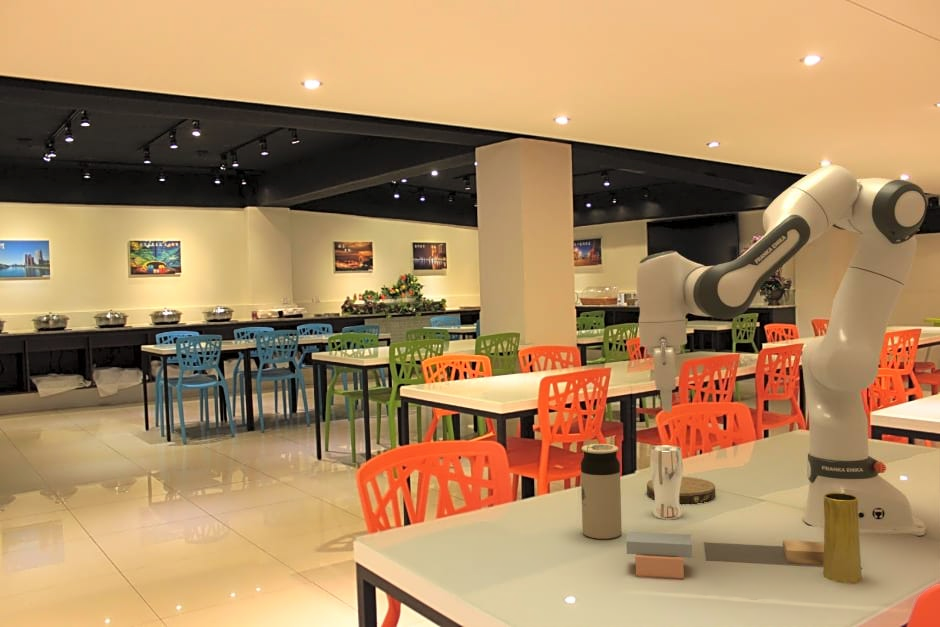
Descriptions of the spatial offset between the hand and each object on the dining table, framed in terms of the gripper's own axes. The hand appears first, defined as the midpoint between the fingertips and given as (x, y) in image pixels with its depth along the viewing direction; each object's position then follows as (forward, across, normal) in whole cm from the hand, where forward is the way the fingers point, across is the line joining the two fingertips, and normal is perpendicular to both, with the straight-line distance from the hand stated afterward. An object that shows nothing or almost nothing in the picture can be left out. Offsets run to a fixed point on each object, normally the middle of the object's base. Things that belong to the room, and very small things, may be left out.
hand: (667, 407), depth 148 cm
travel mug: (+27, +6, +15) cm, 31 cm away
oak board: (+28, -4, -25) cm, 37 cm away
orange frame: (+27, -14, +3) cm, 31 cm away
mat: (+28, -4, -18) cm, 34 cm away
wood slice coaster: (+28, +38, -2) cm, 47 cm away
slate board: (+23, -14, +3) cm, 27 cm away
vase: (+28, -13, -27) cm, 41 cm away
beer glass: (+28, +21, +1) cm, 35 cm away
